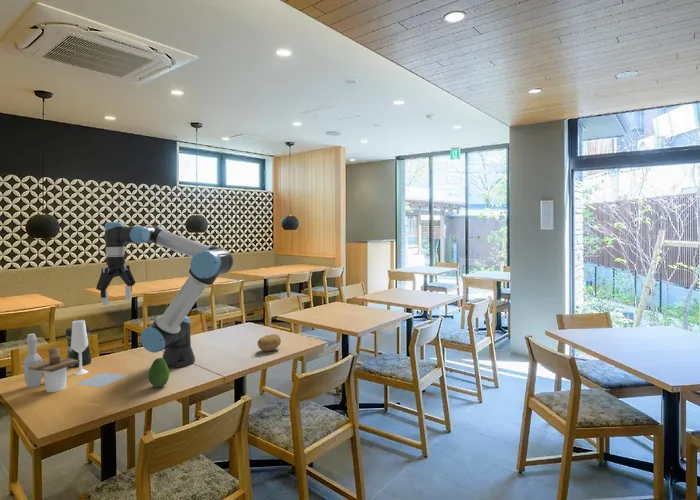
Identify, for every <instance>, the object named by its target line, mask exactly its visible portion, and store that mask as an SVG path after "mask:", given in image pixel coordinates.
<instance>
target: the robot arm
mask: <svg viewBox="0 0 700 500" xmlns="http://www.w3.org/2000/svg"><path fill="white" fill-rule="evenodd" d="M104 238H105V256H106V258H105V262H106V266H107V267H102V268H101V271H100V272H101V273H100V275H99V279H98V282H97V284H96V287H95V289H96V290H98V291H100V298H101V305H102V306H109V291H108V290H107V289H108V288H109V285H110V284H111V282H112V281H113V280H114V278H116V277H120V279H121V280H122V281H123V282H124V284H125V287H124V288H125V289H124V290H125V300H126V301H131V300H133V298H132V294H133V293H132V292H133V287H134V286H135V284H136V280H135V278H134V276H133V273H132V272H131V267H130V265H129V264H127V265H126V257H125V255H126V251H125V244H145V243H152V244H155V245H158V246H161V247H163V248H166V249H169V250H171V251H174V252H177V253H180V254H183V255H185V256H188V257H190V258H191V259H190V260H191V261H190V263H189V264H190V268H189V269H188V273H189V276H188V278H186V280H185V282H184V283H183V284H182V286H181V287H180V289H179V291H178V292H177V293H176V295H175V296H174V298H173V299H172V301H171V302H170V304H169V305H168V306H167V308H166V309H165V311H164V312H163V314H162V315H158V316H157V317H156V318H155V319H154V321H153V322H152V323H151V325H150V326H147V327H146V328H145V329H143V330H142V332H141V334H140V342H141V345H142V346H143V348H144V349H145V350H146V351H148V352H150V353H153V354H154V353H158V352H162V351H163V350H164V351H163V354H162V357H161V358H163V359H164V360H165V362H166V364H167V367H168V368H170V369H171V368H172V369H173V368H183V367H187V366H190V365H193V364H194V363H195V362H196V357H195V354H194V351H193V348H192V343H191V319H190V317H189V316H187V315H188V314H189V312H190V311H191V310H192V308H193V307H194V305H195V304H196V302H197V301H198V300H199V298H200V297H201V296H202V294H203V293H204V291H205V289H206V288H207V286H212V285H213V284H214V283H215V281H216V280H217V278H218V277H219V276H220V275H224V274H227V273H228V272H229V271H231V269H232V268H233V265H234V257H233V255H232V254H231V252H230V251H229V250H227V249H225V248H221V247H218V246H215V245H210V246H209V245H207V244H204V243H201V242H198V241H196V240H193V239H189V238H187V237H184V236H182V235H179V234H176V233H173V232H170V231H167V230H165V229H164V228H163V227H161V226H158V225H153V226H152V225H151V226H148V225H147V226H146V225H145V226H141V225H136V226H135V225H134V226H124V223H123V222H122V221H121V222H119V221H117V222H116V221H115V222H114V221H113V222H111V221H110V222H105V224H104Z"/></svg>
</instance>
